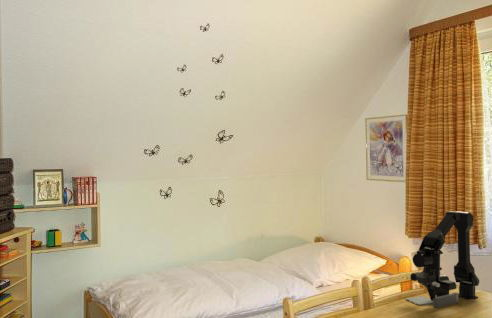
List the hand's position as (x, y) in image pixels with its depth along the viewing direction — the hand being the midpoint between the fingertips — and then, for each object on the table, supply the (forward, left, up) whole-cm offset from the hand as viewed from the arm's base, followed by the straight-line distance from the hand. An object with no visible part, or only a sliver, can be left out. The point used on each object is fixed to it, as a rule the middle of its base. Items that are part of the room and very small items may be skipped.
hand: (432, 300), depth 182 cm
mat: (-1, -8, -3) cm, 8 cm away
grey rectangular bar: (-7, 0, -2) cm, 8 cm away
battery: (-10, -6, -3) cm, 12 cm away
